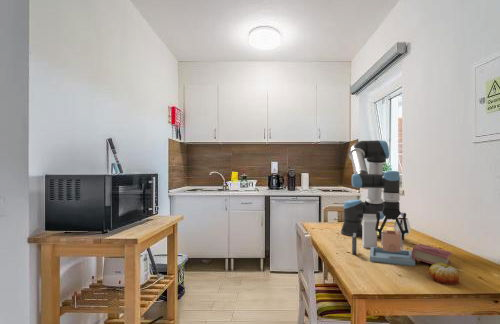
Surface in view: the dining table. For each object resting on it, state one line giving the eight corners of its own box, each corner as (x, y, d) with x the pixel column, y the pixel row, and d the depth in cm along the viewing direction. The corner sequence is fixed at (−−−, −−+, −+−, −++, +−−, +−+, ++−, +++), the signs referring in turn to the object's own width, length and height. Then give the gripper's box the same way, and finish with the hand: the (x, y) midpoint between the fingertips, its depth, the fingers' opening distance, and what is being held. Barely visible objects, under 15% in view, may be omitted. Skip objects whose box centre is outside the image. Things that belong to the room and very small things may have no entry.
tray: (370, 251, 176) (370, 246, 176) (411, 255, 169) (411, 250, 169) (369, 261, 158) (369, 256, 158) (415, 266, 150) (415, 261, 150)
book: (416, 252, 167) (417, 243, 166) (450, 262, 157) (451, 252, 157) (409, 257, 155) (411, 247, 155) (445, 268, 146) (447, 257, 146)
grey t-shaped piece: (352, 252, 173) (352, 232, 173) (356, 253, 172) (356, 233, 172) (351, 255, 168) (351, 234, 168) (356, 255, 167) (356, 235, 167)
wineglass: (391, 251, 177) (392, 218, 177) (397, 248, 183) (397, 216, 183) (407, 254, 171) (407, 220, 171) (412, 251, 177) (412, 218, 177)
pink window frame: (400, 252, 154) (400, 236, 154) (382, 251, 157) (382, 234, 157) (399, 246, 167) (399, 230, 167) (382, 244, 170) (382, 229, 170)
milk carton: (377, 248, 182) (377, 215, 182) (364, 247, 183) (364, 214, 183) (374, 245, 189) (375, 213, 189) (362, 244, 190) (362, 212, 190)
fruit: (423, 278, 133) (425, 259, 135) (435, 281, 139) (437, 262, 141) (452, 286, 124) (454, 265, 126) (463, 288, 130) (465, 268, 131)
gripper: (369, 200, 164) (369, 245, 164) (415, 202, 156) (414, 249, 156) (369, 199, 171) (369, 242, 171) (413, 201, 163) (413, 246, 163)
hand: (391, 245), depth 163 cm, fingers closed on pink window frame, 8 cm apart
